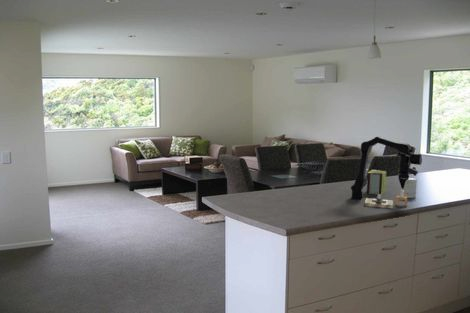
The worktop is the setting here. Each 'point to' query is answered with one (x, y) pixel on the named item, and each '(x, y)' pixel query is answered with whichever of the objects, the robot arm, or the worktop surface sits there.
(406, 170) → the robot arm
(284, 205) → the worktop surface
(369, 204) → the hook shelf
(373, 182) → the protein box
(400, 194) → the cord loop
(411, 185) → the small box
